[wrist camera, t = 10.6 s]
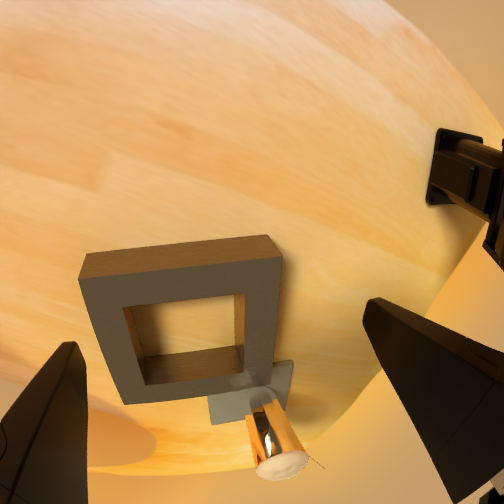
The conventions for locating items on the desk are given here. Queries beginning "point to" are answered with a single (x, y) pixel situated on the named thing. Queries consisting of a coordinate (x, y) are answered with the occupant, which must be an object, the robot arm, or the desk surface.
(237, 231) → the desk surface
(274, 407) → the milkshake
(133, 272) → the collar
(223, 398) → the pad
